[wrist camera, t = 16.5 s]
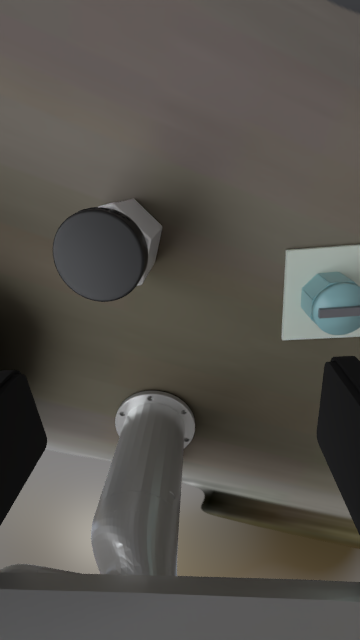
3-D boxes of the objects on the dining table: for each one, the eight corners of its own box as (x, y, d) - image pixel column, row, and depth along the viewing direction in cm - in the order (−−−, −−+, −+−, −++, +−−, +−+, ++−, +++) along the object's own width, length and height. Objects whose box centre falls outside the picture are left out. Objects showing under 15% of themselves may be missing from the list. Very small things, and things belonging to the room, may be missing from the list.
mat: (358, 334, 41) (360, 336, 40) (281, 338, 42) (282, 340, 41) (373, 243, 36) (375, 244, 36) (285, 249, 37) (287, 250, 37)
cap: (353, 270, 37) (378, 284, 32) (348, 316, 39) (369, 335, 34) (302, 274, 38) (318, 288, 33) (299, 319, 40) (314, 338, 35)
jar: (151, 190, 35) (129, 194, 24) (172, 258, 38) (160, 288, 28) (81, 213, 37) (30, 226, 26) (106, 277, 40) (70, 312, 29)
